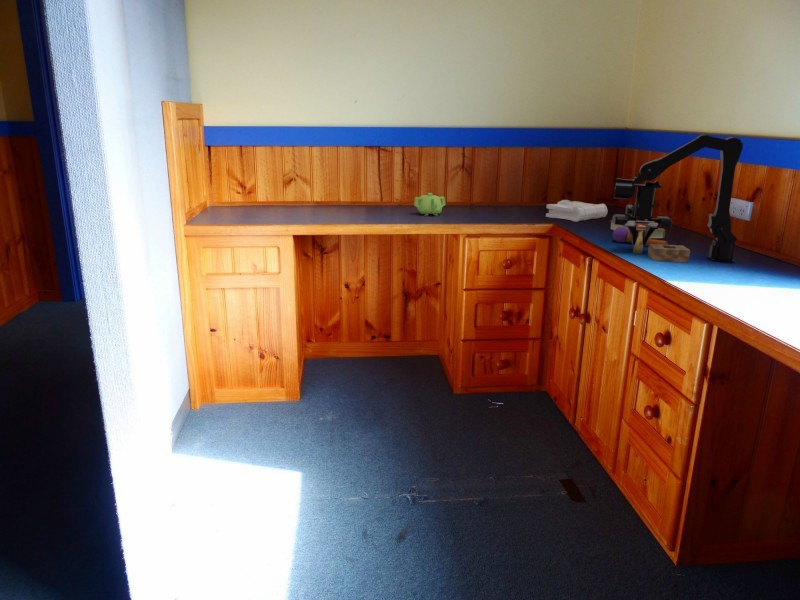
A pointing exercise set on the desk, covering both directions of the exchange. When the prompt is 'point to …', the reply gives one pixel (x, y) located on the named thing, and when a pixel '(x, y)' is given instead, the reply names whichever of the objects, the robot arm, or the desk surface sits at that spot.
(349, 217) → the desk surface
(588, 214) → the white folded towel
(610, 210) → the desk surface
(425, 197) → the teapot
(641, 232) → the brass pin
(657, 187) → the robot arm
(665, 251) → the bore block
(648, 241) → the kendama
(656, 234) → the hardcover book
